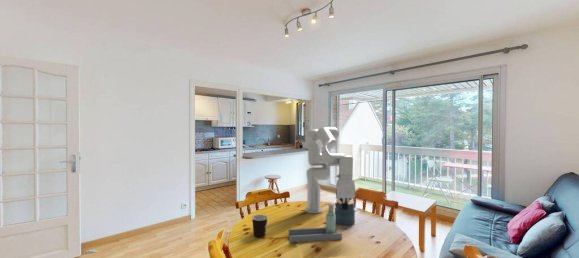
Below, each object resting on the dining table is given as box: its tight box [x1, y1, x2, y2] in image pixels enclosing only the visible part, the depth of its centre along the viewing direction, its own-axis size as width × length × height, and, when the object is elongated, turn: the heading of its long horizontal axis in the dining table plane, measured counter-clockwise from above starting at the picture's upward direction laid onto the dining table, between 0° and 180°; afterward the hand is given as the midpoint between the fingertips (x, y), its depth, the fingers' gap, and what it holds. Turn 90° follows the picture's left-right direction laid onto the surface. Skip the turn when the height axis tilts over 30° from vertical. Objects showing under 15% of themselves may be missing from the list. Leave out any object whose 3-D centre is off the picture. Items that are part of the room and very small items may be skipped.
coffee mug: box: [251, 214, 268, 239], centre depth 135 cm, size 12×9×10 cm
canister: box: [334, 199, 356, 227], centre depth 153 cm, size 13×13×18 cm
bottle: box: [325, 202, 336, 234], centre depth 132 cm, size 5×5×18 cm
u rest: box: [288, 226, 343, 245], centre depth 131 cm, size 9×28×4 cm, turn 100°
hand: (344, 209), depth 134 cm, fingers closed
